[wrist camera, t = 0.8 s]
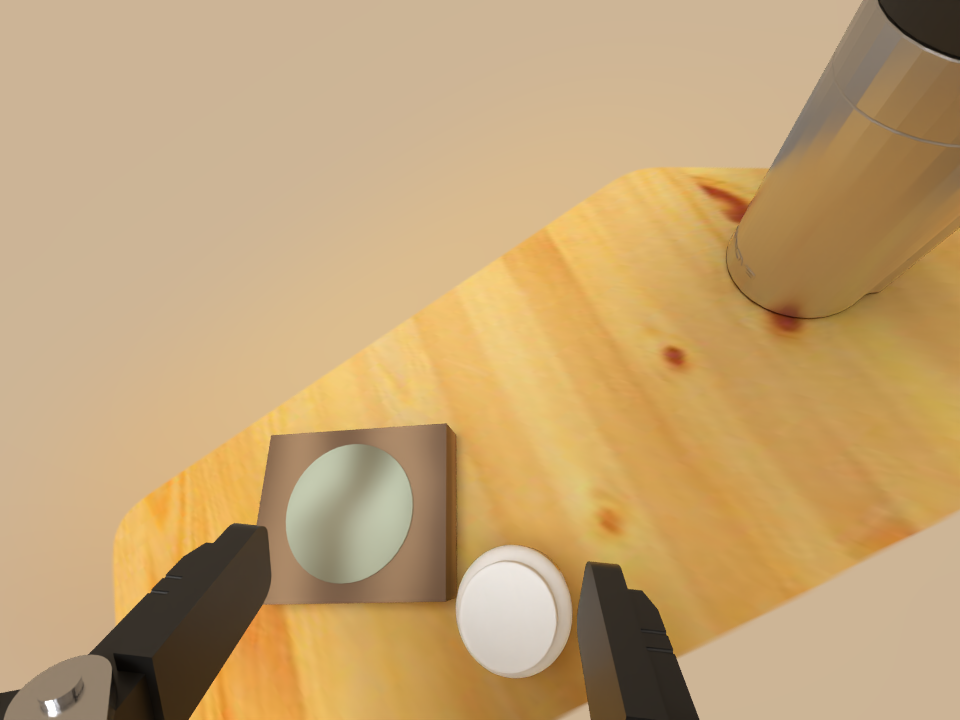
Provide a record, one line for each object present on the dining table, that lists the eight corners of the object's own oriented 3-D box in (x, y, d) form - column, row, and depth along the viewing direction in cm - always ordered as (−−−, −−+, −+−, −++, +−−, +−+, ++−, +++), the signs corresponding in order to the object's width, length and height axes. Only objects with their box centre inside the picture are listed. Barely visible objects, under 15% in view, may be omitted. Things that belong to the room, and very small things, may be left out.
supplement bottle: (464, 567, 28) (422, 574, 19) (544, 532, 28) (538, 522, 19) (499, 664, 26) (469, 722, 17) (585, 625, 26) (600, 662, 17)
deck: (455, 434, 31) (445, 422, 28) (456, 596, 27) (444, 601, 24) (294, 445, 33) (269, 434, 30) (273, 600, 29) (241, 605, 26)
